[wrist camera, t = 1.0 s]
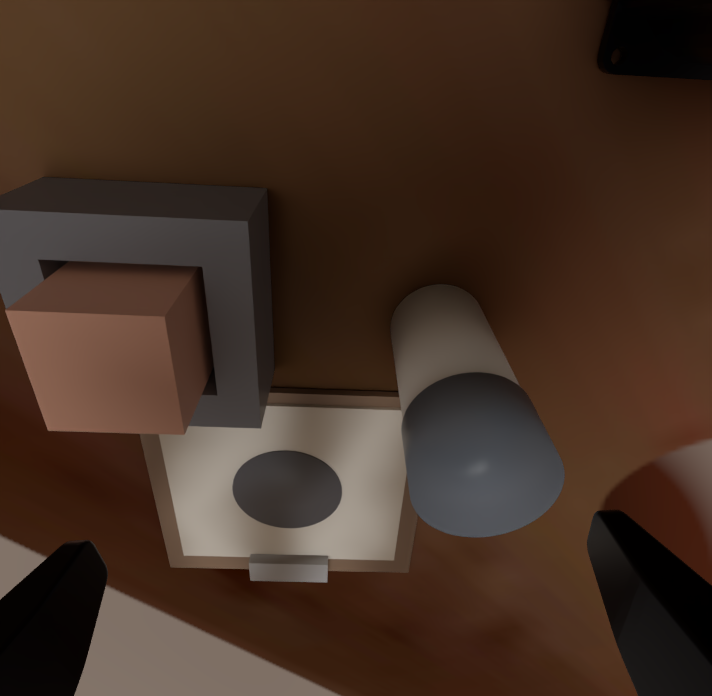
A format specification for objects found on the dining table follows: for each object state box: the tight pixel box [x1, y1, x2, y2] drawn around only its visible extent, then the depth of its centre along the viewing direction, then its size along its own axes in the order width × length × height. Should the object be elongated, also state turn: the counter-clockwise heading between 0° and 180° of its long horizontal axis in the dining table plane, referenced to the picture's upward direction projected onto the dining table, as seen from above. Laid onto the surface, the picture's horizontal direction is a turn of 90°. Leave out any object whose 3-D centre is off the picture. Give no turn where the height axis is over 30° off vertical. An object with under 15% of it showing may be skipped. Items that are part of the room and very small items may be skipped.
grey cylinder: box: [390, 284, 565, 537], centre depth 17 cm, size 4×4×9 cm
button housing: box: [0, 177, 275, 429], centre depth 18 cm, size 8×8×4 cm
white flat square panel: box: [140, 388, 418, 582], centre depth 26 cm, size 14×13×1 cm
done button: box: [5, 261, 214, 435], centre depth 16 cm, size 4×4×4 cm
